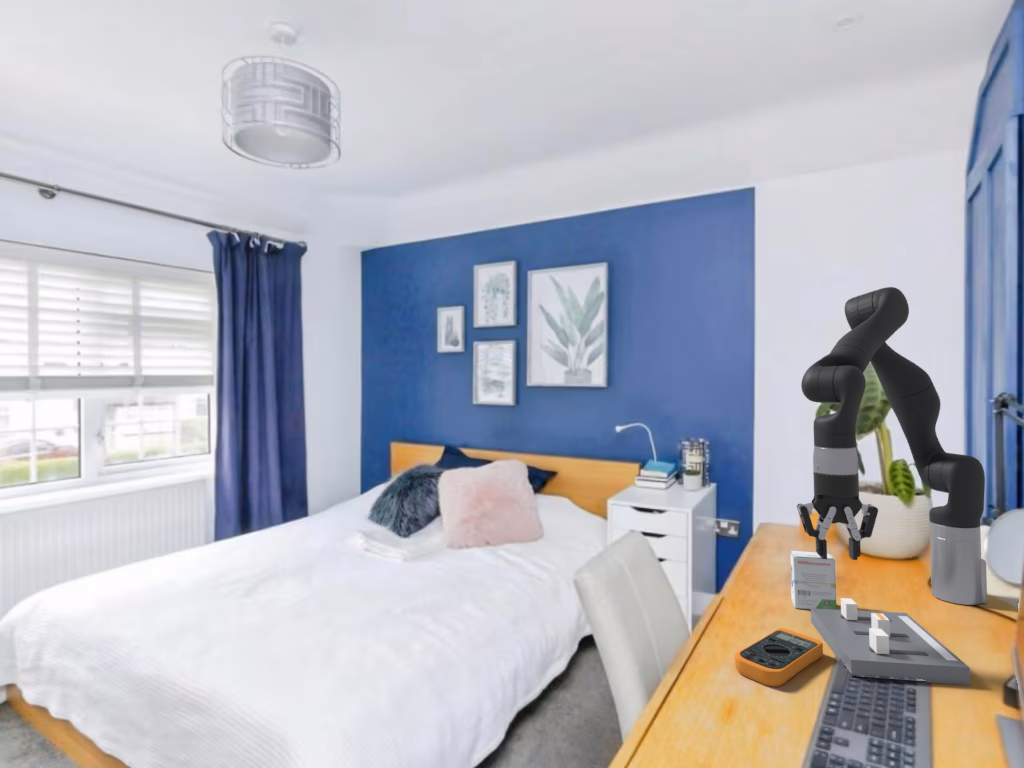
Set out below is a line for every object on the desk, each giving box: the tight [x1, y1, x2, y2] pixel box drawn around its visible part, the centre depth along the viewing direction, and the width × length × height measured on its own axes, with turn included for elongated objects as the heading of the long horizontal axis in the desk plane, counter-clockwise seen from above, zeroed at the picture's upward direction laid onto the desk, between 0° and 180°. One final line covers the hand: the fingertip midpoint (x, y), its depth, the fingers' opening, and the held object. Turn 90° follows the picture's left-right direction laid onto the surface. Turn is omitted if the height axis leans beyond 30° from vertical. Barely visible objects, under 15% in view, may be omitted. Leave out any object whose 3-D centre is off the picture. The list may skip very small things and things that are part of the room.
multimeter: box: [734, 627, 824, 688], centre depth 102 cm, size 9×18×3 cm, turn 127°
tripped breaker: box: [871, 613, 890, 637], centre depth 106 cm, size 2×3×3 cm, turn 168°
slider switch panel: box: [810, 608, 971, 686], centre depth 106 cm, size 18×22×3 cm
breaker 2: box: [869, 628, 889, 654], centre depth 100 cm, size 2×3×3 cm, turn 168°
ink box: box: [790, 550, 838, 610], centre depth 127 cm, size 9×5×12 cm, turn 71°
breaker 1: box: [840, 597, 858, 620], centre depth 114 cm, size 2×3×3 cm, turn 168°
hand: (838, 557), depth 107 cm, fingers open, 4 cm apart
